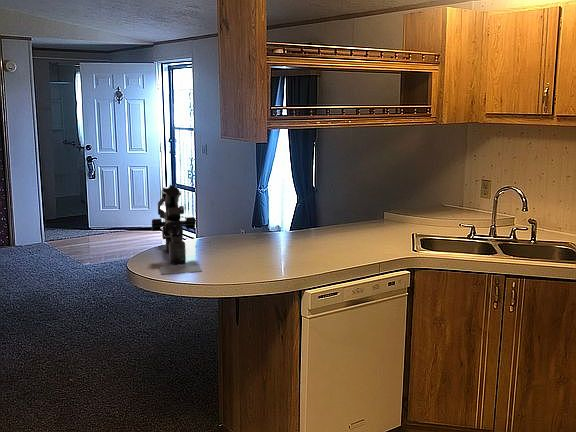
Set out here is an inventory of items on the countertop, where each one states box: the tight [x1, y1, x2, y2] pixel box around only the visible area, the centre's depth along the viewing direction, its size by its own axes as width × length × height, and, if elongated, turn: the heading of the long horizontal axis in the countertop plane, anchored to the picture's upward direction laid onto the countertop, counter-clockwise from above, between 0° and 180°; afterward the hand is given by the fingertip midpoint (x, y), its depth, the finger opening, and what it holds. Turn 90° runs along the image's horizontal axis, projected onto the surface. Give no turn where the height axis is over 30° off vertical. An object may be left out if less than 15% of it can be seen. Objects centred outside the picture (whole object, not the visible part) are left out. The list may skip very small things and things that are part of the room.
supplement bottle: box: [168, 234, 187, 266], centre depth 265 cm, size 7×7×12 cm
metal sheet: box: [159, 263, 203, 275], centre depth 255 cm, size 11×16×1 cm
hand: (175, 240), depth 270 cm, fingers closed
